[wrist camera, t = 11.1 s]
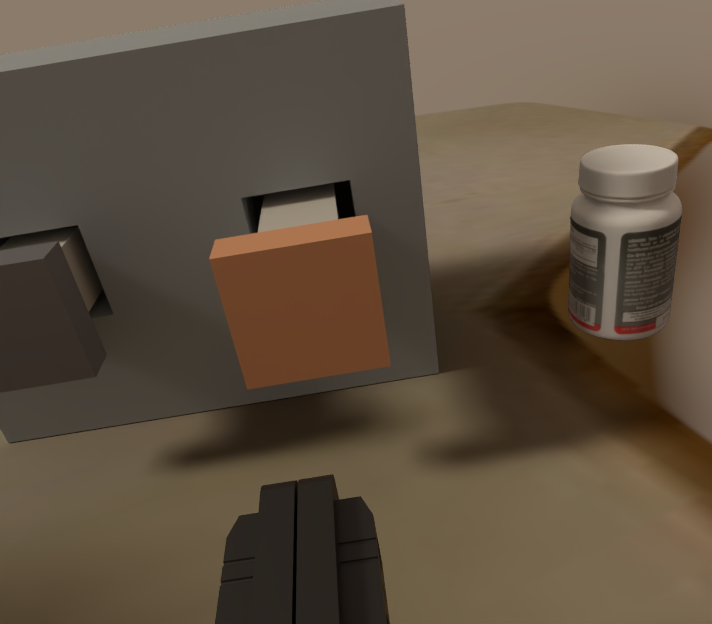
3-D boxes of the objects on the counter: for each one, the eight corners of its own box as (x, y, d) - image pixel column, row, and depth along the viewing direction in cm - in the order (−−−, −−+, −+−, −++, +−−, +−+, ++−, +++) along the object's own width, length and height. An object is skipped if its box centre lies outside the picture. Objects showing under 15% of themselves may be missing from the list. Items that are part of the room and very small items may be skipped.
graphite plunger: (95, 377, 23) (43, 258, 21) (-34, 398, 23) (-103, 282, 21) (150, 267, 32) (117, 173, 29) (54, 283, 32) (12, 190, 29)
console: (439, 373, 30) (404, 3, 21) (8, 443, 30) (-186, 103, 22) (409, 282, 38) (376, -9, 30) (72, 337, 38) (-52, 63, 30)
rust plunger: (390, 366, 21) (371, 232, 19) (247, 389, 21) (208, 259, 19) (366, 251, 29) (350, 148, 27) (263, 269, 29) (238, 167, 27)
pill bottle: (674, 301, 32) (695, 140, 28) (661, 351, 29) (684, 177, 24) (579, 289, 34) (585, 139, 30) (557, 334, 31) (561, 173, 27)
